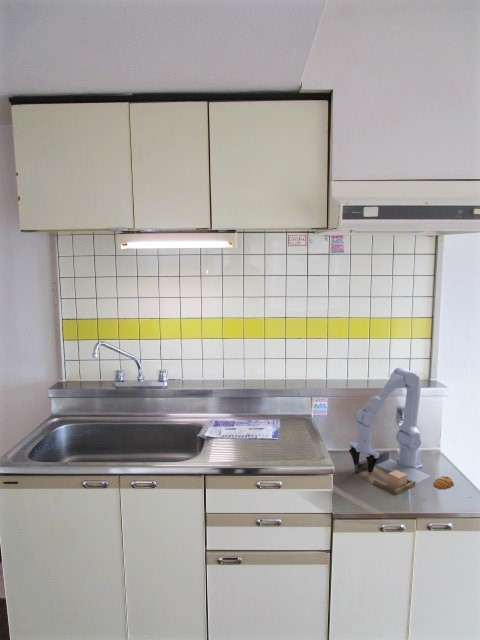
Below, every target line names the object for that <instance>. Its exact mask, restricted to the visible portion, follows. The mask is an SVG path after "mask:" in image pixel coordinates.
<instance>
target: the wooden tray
mask: <svg viewBox="0 0 480 640" xmlns="http://www.w3.org/2000/svg"><path fill="white" fill-rule="evenodd" d="M388 473H389V472H386V471H385V470H382V469H380V468H377V467H375V466H374V468H373V472H370V473H369V472H368V462H367V459H363V460H362V461H359V463H356V464H355V466H354V471H353V472H352V474H353V475H355V476H358V477H360V478H362V479H364V480H365V481H367V482H369V483H372V484H374V485H376V486H378V487H380V488H382V489H384V490H385V491H388V492H390V493H392V494H394V495H400V494H402V493H404V492H406V491H408V490H410V489H411V488H414V487H416V482H414V481H411V480H409V479H407V484H406V485H404V486H402V487H400V488H398V489H395V488H393V487H391V486H389V485H388Z"/></svg>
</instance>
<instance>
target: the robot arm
mask: <svg viewBox="0 0 480 640" xmlns="http://www.w3.org/2000/svg"><path fill="white" fill-rule="evenodd" d="M402 388H405V390H406V395H405V404H404V413H403V421H402V424H401V425H399V426H398V431H397V433H396V435H395V439H396V441H397V442H398V445H399V450H398V453H399V455H398V457H399V458H398V462H399V463H400V464H401V465H403V466H407V467H411V468H414V469H419V468H422V467H423V466H424V465H423V464H422V449H421V444H422V439H421V432H420V430H419V429H418V428H417V423H418V416H419V406H420V398H421V388H422V387H421V384H420V375H418V374H417V373H416V372H414V371H411V370H408V369H405V368H403V367H397V368H395V369H394V370H393V372H392V373H390V376H389V379H388V381H387V382H386V383H385V384H384V386H383V387H382V388H381V390H380V391H379V393H377V395H374V396H372V397H370V398H369V400H368V402H367V403H365V405H364V406H362V408H360V409H359V410H357V411H356V412H355V415H354V419H355V421H356V425H357V427H356V442H353V441H351V442H349V443H348V447H349V450H348V452H349V453H350V456H351V458H352V461H353V466H354V467H355V464H356V463H359V462H360V455H361V453H364V454H367V455H368V456H366V457H365V458H366V459H365V460H367V462H368V472H369V473H370V472H373V468H374V467H375V466H376V465H375V463H376V461H377V460H378V458H379V453H380V452H377V450H375V449H373V448H372V425H373V424H374V422H375V419H376V417H377V414H379V412H380V411H381V410H382V409H383V407H384V406H385V401H386V400H387V399H388V398H389V397H390V396H391V394H393V392H394V391H396V390H397V389H402Z"/></svg>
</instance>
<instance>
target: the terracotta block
mask: <svg viewBox="0 0 480 640" xmlns="http://www.w3.org/2000/svg"><path fill="white" fill-rule="evenodd" d="M387 473H388V485H389V486H391V487H393V488H395V489H398V488H400V487H402V486H404V485H406V484H407V474H404V473H402V472H400V471H398V470H395V471H393V472H391V471H390V472H387Z"/></svg>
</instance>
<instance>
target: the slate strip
mask: <svg viewBox="0 0 480 640" xmlns="http://www.w3.org/2000/svg"><path fill="white" fill-rule="evenodd" d="M378 453H379V458H378V460H377V461H376V463H375V465H374V466H377V467H380V468H382V469H385V470H387V471H390V472H393V471H395V470H398V471H400V472H402V473H404V474H407V479H408V480H410V481H414V482H415V484H418V483H420V482H422V481H425V480H426V479H429V478H430V477H432V475H430V474H428V473H426V472H423V471H420V470H418V469H417V468H414V467H407V466H403V465H401V464H400V463H399V461H396V460H395V459H391V458H390V451H388V450H384V451H381V452H378Z"/></svg>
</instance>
